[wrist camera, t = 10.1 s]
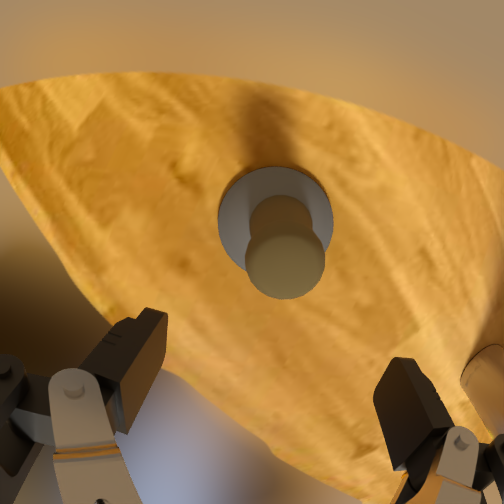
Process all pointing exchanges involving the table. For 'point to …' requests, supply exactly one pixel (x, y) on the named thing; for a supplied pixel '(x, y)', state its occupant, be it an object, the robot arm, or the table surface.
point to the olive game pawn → (283, 249)
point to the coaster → (259, 188)
